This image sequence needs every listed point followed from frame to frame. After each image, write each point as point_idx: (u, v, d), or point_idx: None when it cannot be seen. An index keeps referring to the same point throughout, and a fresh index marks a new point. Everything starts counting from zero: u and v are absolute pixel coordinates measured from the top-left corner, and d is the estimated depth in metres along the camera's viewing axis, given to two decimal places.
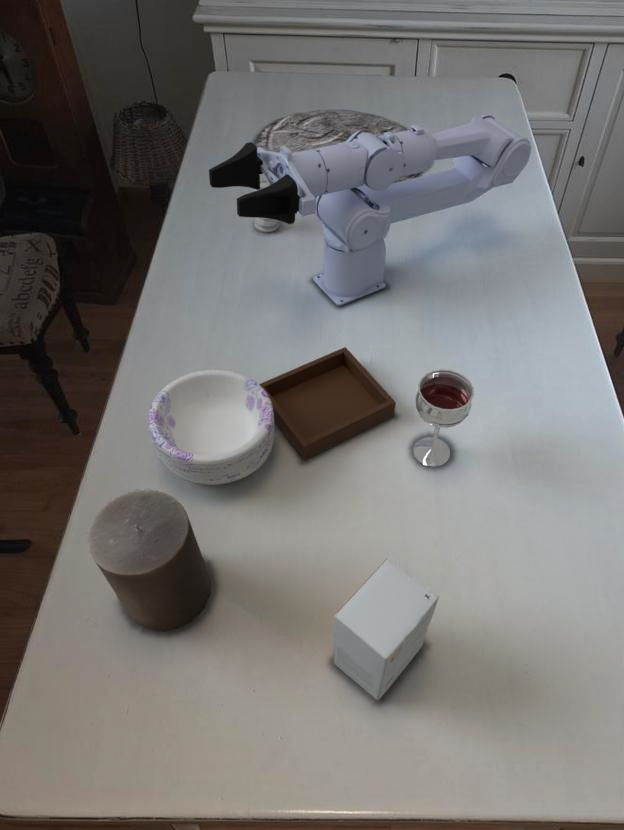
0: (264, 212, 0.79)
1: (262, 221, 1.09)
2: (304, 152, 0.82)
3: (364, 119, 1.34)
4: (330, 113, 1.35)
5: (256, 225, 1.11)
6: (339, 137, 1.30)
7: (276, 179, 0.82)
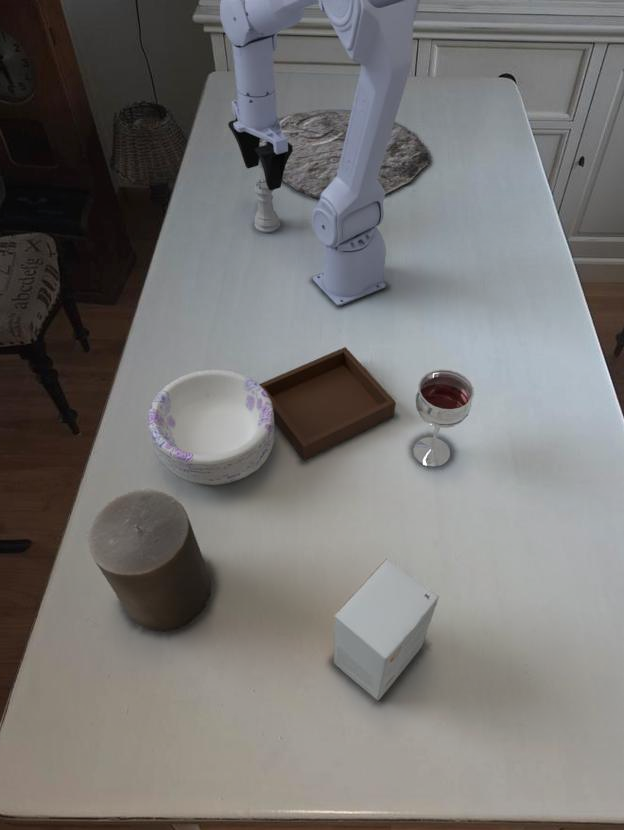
0: (280, 167, 1.00)
1: (262, 221, 1.09)
2: (239, 103, 0.94)
3: None
4: (330, 113, 1.35)
5: (256, 225, 1.11)
6: (339, 137, 1.30)
7: None
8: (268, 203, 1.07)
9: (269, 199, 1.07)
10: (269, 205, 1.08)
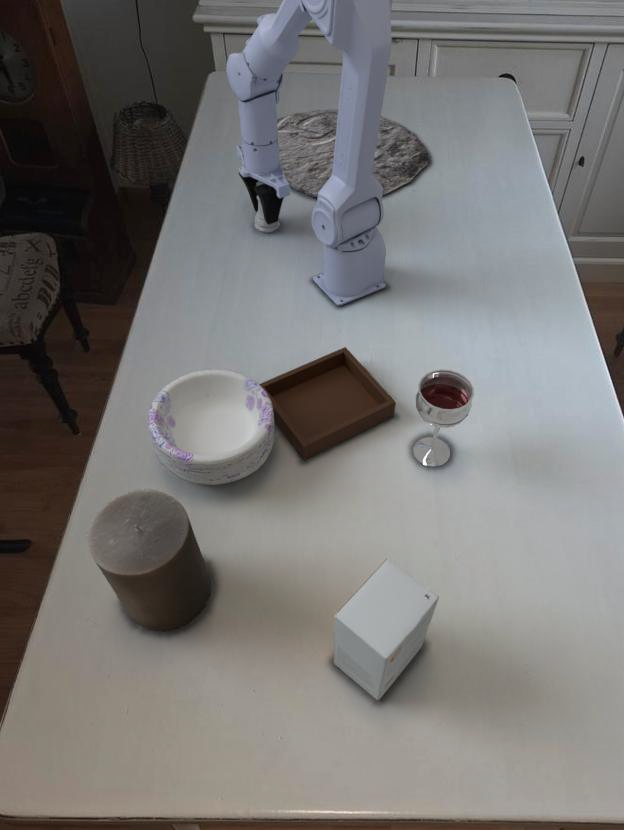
0: (277, 203, 1.07)
1: (262, 221, 1.09)
2: (244, 150, 1.00)
3: None
4: (330, 113, 1.35)
5: (256, 225, 1.11)
6: None
7: None
8: None
9: None
10: None
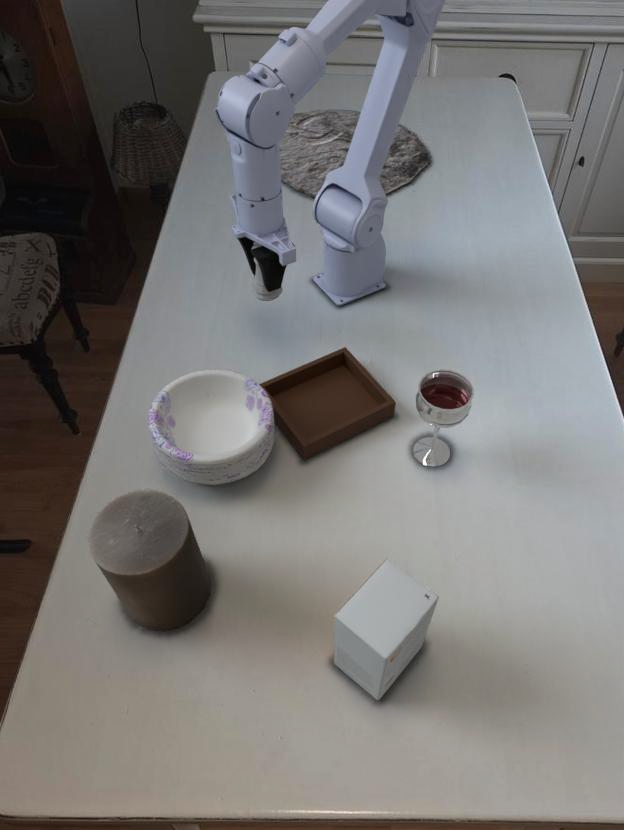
0: (280, 268, 0.85)
1: (260, 288, 0.88)
2: (238, 205, 0.78)
3: None
4: (330, 113, 1.35)
5: (253, 292, 0.89)
6: (339, 137, 1.30)
7: None
8: None
9: None
10: None
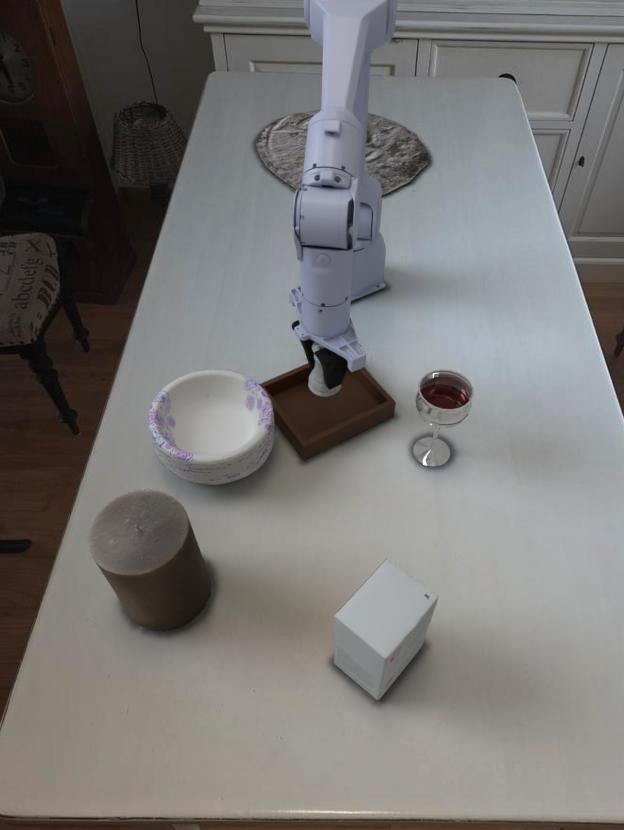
0: (343, 366, 0.79)
1: (320, 385, 0.82)
2: (303, 308, 0.72)
3: None
4: None
5: (311, 387, 0.83)
6: None
7: None
8: None
9: None
10: None
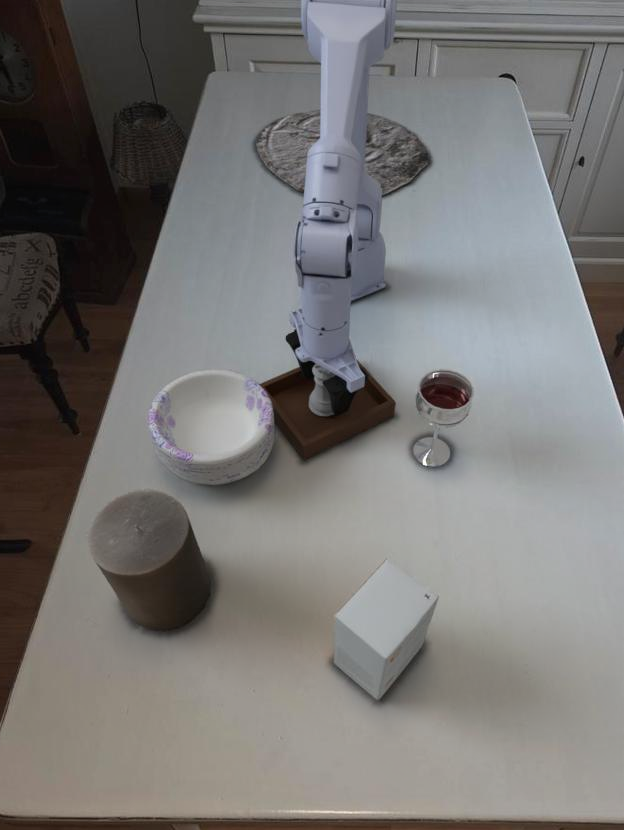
0: (350, 394, 0.81)
1: (320, 405, 0.85)
2: (304, 331, 0.75)
3: None
4: None
5: (311, 407, 0.86)
6: None
7: None
8: None
9: None
10: None
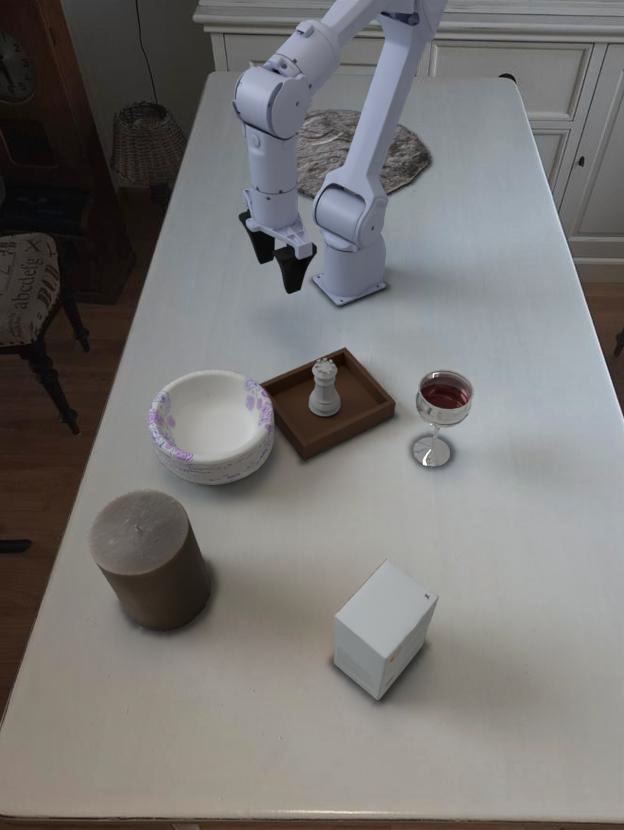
0: (301, 269, 0.84)
1: (320, 405, 0.85)
2: (253, 199, 0.78)
3: None
4: (330, 113, 1.35)
5: (311, 407, 0.86)
6: (339, 137, 1.30)
7: None
8: (329, 387, 0.83)
9: (331, 382, 0.82)
10: (330, 388, 0.83)
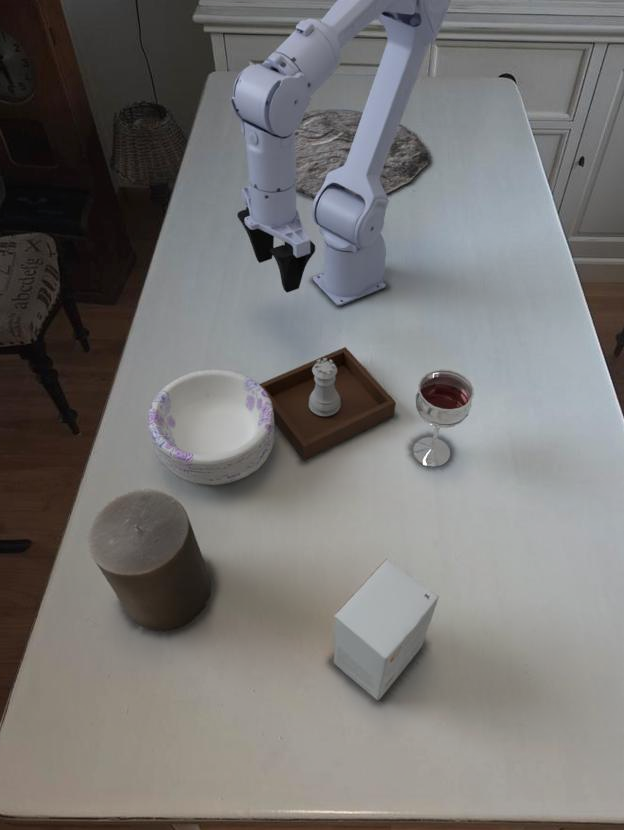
0: (299, 268, 0.84)
1: (320, 405, 0.85)
2: (251, 197, 0.78)
3: None
4: (330, 113, 1.35)
5: (311, 407, 0.86)
6: (339, 137, 1.30)
7: None
8: (329, 387, 0.83)
9: (331, 382, 0.82)
10: (330, 388, 0.83)
